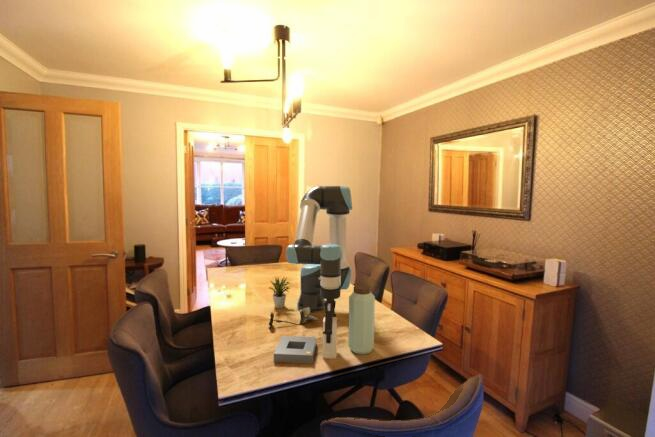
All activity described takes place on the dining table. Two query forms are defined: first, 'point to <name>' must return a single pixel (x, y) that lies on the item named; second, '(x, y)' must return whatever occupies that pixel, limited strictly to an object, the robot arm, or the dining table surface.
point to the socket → (295, 349)
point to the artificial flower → (302, 312)
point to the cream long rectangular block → (334, 342)
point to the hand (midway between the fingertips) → (329, 341)
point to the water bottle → (361, 319)
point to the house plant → (279, 292)
